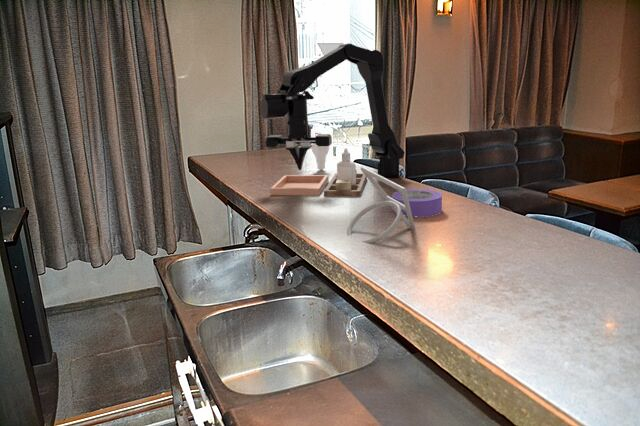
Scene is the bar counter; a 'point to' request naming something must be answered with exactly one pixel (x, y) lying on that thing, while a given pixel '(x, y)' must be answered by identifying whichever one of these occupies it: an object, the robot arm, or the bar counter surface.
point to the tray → (300, 185)
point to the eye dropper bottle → (346, 168)
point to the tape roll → (421, 202)
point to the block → (343, 185)
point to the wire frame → (389, 201)
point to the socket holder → (354, 191)
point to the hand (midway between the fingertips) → (300, 169)
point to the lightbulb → (320, 155)
